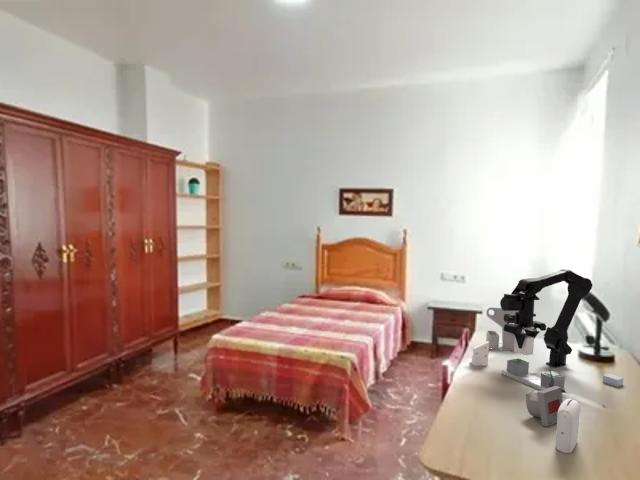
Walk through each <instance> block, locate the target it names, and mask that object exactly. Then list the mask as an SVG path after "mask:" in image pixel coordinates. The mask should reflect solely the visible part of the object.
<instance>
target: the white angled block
mask: <svg viewBox="0 0 640 480" xmlns="http://www.w3.org/2000/svg"><path fill="white" fill-rule="evenodd" d="M489 351H490V349H489V342H488V341H487V342H486V341H485V342H483V343H481V344H478V345H477V346H475V347H473V348H472V355H471V363H472V365H473V366H484V367H488V366H489Z"/></svg>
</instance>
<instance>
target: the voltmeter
mask: <svg viewBox="0 0 640 480" xmlns="http://www.w3.org/2000/svg"><path fill="white" fill-rule="evenodd" d="M549 372H550V375H551V378H552V379H551V382H550V383H549V386H550V385H551V387H550V388H547V389H544V390H534V389H532V390H530V391H529V392H527V393H525V399H526V400H525V403H526V404H525V405H526V409H527V413H529V415H531V416H532V417H536V418H540V419H541V420H538V422H539V423H541V426H542V427H549V426H552V425H554V424H557V415H558V409H559V407H560V405H561V404H562V402H563V401H564V400H563V395H562V393H563V392H562V393H561V387H558V386H554V385H553V384H554V381H553V377H552V374H551V370H549ZM552 381H553V383H552ZM551 383H552V384H551ZM552 386H553V387H552Z"/></svg>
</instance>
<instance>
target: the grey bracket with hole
mask: <svg viewBox="0 0 640 480" xmlns="http://www.w3.org/2000/svg"><path fill="white" fill-rule="evenodd" d="M490 310H491V311H493V314H490V313H489V312H490ZM516 312H518V311H504V310H502V308H501V307H488V309H486V316H487V318H488V319H490V320H491V321H492V322H494V323H496V324H497V325H498V326H499V327H501V334H502V335H501V340H502V341H501V342H500V334H499V333H498V332H497V331H496V330H495V331H494V330H487V331H486V339H485V340H486V341H485V342H487V341H488V342H489V348H492V349H491V350H495V349H502V350H501V351H508V350H512V351H511V352H515V351H514V343H515V335H514V334H512V333H509V332H506V331H504V325H505V324H507V322H505V321H504V314H510V315H511V316H513V315H515V313H516ZM515 325H517V324H515Z"/></svg>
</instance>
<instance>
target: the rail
mask: <svg viewBox="0 0 640 480" xmlns="http://www.w3.org/2000/svg"><path fill="white" fill-rule="evenodd" d="M529 368H530V362H529V361H526V360H524V359H520V358H511V359H507V362H506V368H505V369H501V374H502V375H504V376H507V377H508V378H511V379H513V380H515V381H517V382H520V383H522V384H524V385H525V384H526V385H527V386H530V387H531V388H534V389H537V390H538V391H541V390H544V389H547V388H550V387H551V385H550V386H549V383H550V382H551V379H552V378H551V375H550V371H551V370H550V371H545V372H541V373H540V377H539V376H536V375H534V374H531V373H529ZM551 374H552V377H553V381H554V384H553V385H554V386H558V387H561V393H565V392H566V390H564V389H566V387H565V380H566V379H565V378H566V375H565V374H562V373H559V372H556V371H553V370H552V371H551ZM553 381H552V383H553ZM552 383H551V384H552ZM552 387H553V386H552Z"/></svg>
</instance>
